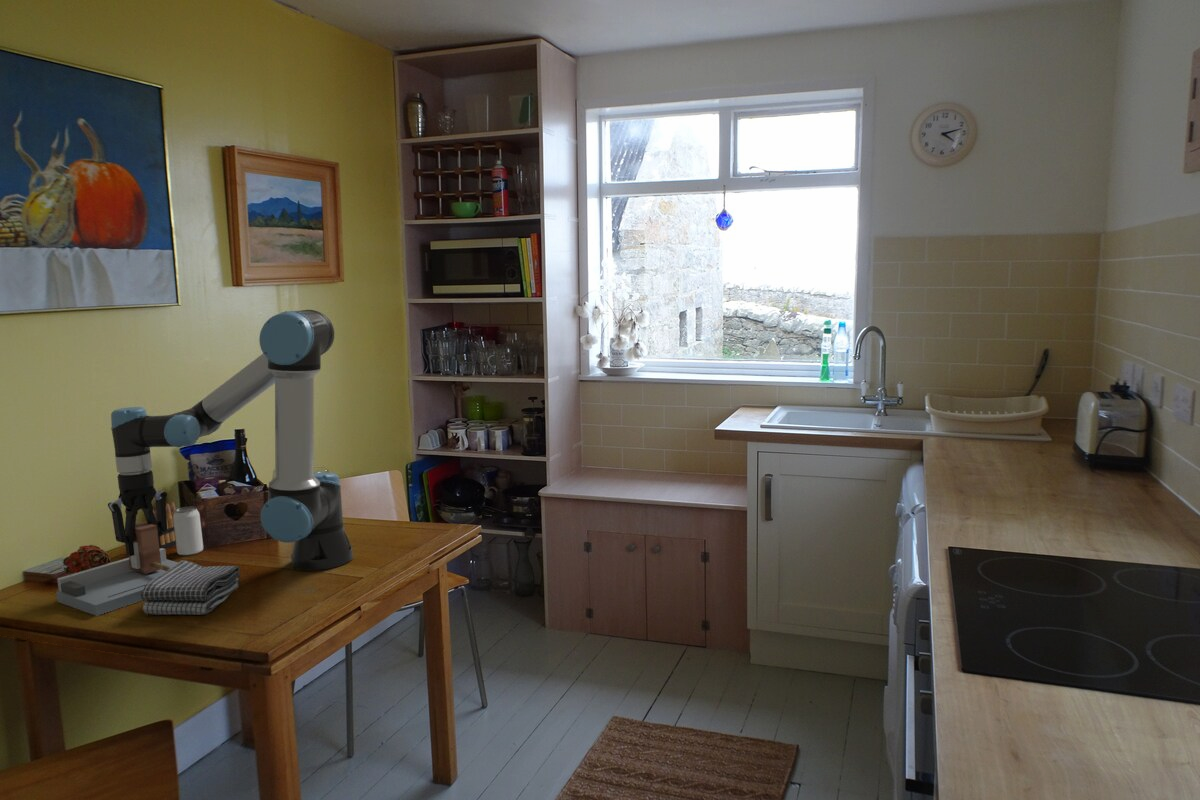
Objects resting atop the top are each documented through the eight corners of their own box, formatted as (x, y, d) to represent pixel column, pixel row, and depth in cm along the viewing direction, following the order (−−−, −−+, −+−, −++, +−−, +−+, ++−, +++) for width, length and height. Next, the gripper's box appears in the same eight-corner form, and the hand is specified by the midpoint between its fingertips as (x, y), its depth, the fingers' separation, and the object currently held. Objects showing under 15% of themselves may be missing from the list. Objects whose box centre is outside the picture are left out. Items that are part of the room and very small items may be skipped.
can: (207, 551, 236) (202, 508, 234) (183, 557, 231) (178, 513, 229) (197, 546, 240) (192, 504, 238) (173, 552, 235) (168, 510, 234)
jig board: (206, 579, 213) (203, 557, 212) (97, 616, 191) (93, 592, 191) (165, 568, 223) (163, 547, 222) (57, 601, 201) (54, 579, 200)
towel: (140, 619, 189) (136, 585, 188) (183, 589, 207) (179, 557, 206) (208, 617, 188) (204, 583, 187) (245, 587, 207) (242, 556, 205)
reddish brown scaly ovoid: (111, 583, 218) (69, 589, 220) (124, 555, 224) (83, 561, 226) (89, 563, 212) (47, 570, 214) (104, 535, 218) (62, 542, 220)
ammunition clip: (151, 553, 235) (146, 511, 234) (146, 553, 236) (141, 510, 234) (182, 542, 245) (177, 500, 244) (177, 541, 246) (172, 500, 244)
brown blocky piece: (176, 573, 209) (171, 529, 207) (160, 578, 205) (155, 533, 204) (146, 564, 216) (141, 521, 215) (130, 569, 213) (125, 526, 211)
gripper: (160, 463, 218) (170, 552, 221) (90, 477, 204) (102, 572, 208) (177, 465, 214) (187, 557, 217) (106, 480, 200) (118, 578, 203)
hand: (145, 564), depth 212 cm, fingers closed on brown blocky piece, 4 cm apart
